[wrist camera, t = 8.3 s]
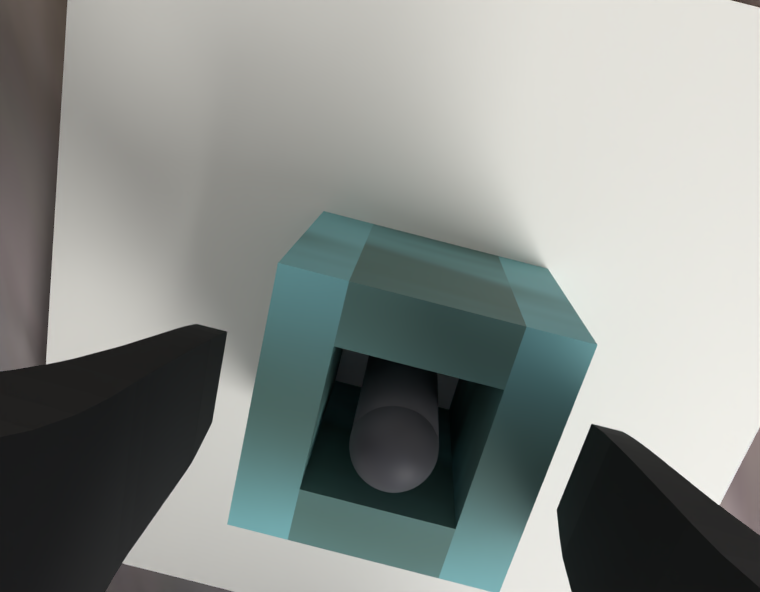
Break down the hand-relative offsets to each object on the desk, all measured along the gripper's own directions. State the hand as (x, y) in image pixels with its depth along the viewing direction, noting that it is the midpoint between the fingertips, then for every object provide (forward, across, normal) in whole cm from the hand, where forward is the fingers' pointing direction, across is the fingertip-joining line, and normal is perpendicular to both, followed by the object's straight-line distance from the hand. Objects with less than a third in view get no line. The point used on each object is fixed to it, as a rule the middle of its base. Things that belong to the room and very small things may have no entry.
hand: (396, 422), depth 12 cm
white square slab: (+5, 0, 0) cm, 5 cm away
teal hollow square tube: (+4, 0, 0) cm, 4 cm away
